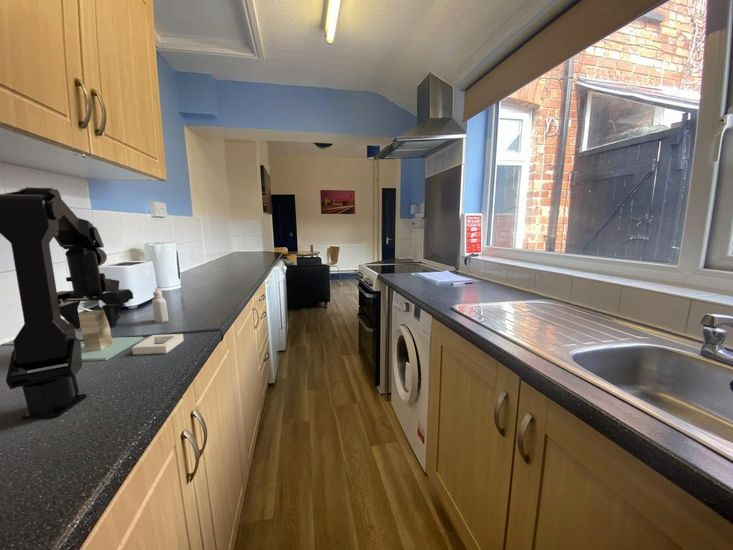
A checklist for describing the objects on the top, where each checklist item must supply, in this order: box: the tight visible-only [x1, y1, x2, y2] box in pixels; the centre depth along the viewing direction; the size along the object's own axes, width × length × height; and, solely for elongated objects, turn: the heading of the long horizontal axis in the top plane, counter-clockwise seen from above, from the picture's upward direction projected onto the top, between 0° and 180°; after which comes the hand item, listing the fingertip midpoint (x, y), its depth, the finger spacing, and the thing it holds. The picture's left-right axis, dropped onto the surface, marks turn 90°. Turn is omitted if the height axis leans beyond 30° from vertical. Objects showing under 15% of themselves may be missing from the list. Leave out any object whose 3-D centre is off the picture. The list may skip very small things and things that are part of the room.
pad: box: [80, 336, 144, 362], centre depth 83 cm, size 14×14×1 cm
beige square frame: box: [131, 333, 185, 356], centre depth 84 cm, size 8×8×2 cm
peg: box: [79, 309, 113, 351], centre depth 82 cm, size 4×4×10 cm
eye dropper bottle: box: [151, 287, 169, 324], centre depth 105 cm, size 4×6×12 cm
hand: (95, 328), depth 82 cm, fingers open, 9 cm apart
